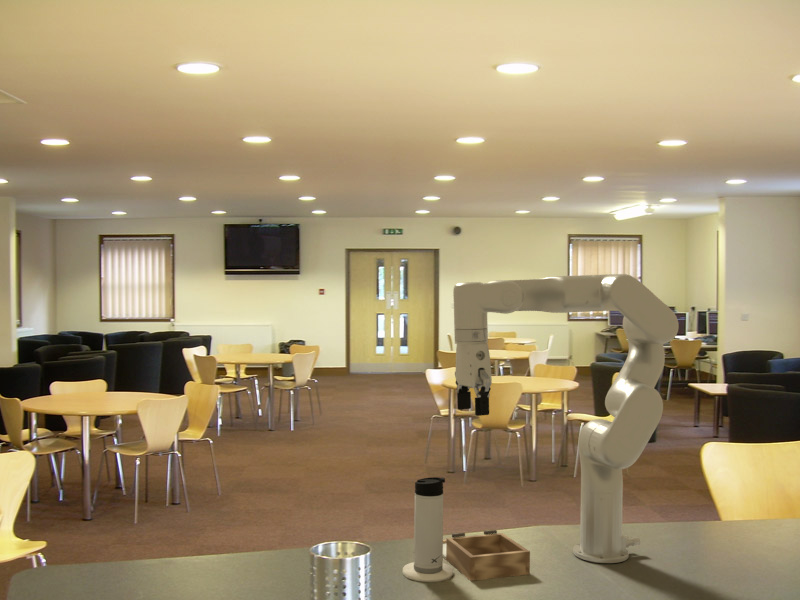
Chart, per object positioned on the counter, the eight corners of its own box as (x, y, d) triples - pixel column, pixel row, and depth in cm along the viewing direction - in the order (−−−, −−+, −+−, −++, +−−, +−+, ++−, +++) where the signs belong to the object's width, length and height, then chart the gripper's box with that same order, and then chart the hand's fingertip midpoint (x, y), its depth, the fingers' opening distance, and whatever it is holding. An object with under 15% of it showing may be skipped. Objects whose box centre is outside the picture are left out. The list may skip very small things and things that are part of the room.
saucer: (442, 562, 186) (442, 559, 186) (460, 579, 176) (461, 575, 176) (396, 567, 183) (396, 563, 183) (412, 584, 172) (412, 580, 172)
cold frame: (482, 540, 203) (483, 516, 203) (529, 574, 179) (530, 547, 179) (429, 545, 199) (429, 521, 198) (470, 580, 175) (470, 553, 175)
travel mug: (441, 575, 176) (443, 481, 175) (411, 573, 177) (412, 480, 177) (445, 565, 182) (446, 475, 181) (416, 563, 183) (417, 473, 183)
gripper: (503, 338, 179) (505, 416, 180) (470, 334, 196) (472, 405, 196) (471, 339, 177) (473, 419, 177) (441, 335, 193) (443, 408, 194)
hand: (473, 412), depth 187 cm, fingers open, 9 cm apart
